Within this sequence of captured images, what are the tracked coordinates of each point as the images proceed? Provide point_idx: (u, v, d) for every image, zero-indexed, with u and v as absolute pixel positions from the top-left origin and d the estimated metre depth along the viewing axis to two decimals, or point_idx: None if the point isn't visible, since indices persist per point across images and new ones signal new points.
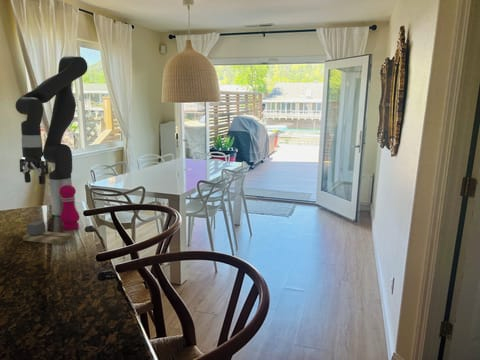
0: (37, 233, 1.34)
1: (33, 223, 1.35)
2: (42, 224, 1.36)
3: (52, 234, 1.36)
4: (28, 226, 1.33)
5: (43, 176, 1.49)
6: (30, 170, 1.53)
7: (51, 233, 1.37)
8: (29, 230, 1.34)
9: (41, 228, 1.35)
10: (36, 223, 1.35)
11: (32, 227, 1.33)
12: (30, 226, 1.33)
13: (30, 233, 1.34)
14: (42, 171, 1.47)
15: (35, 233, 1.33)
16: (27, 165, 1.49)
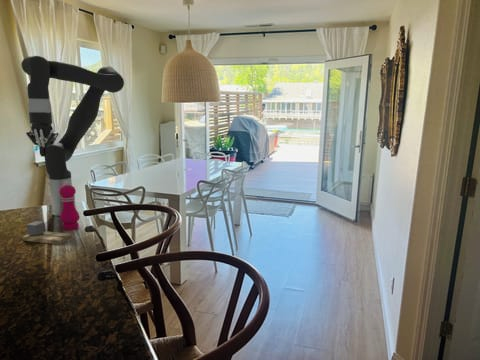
0: (37, 233, 1.34)
1: (33, 223, 1.35)
2: (42, 224, 1.36)
3: (52, 234, 1.36)
4: (28, 226, 1.33)
5: None
6: (42, 141, 1.35)
7: (51, 233, 1.37)
8: (29, 230, 1.34)
9: (41, 228, 1.35)
10: (36, 223, 1.35)
11: (32, 227, 1.33)
12: (30, 226, 1.33)
13: (30, 233, 1.34)
14: None
15: (35, 233, 1.33)
16: None
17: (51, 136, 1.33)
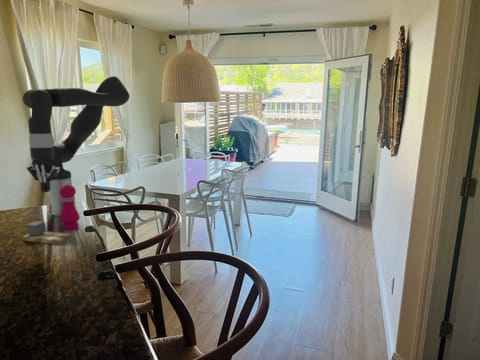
0: (37, 233, 1.34)
1: (33, 223, 1.35)
2: (42, 224, 1.36)
3: (52, 234, 1.36)
4: (28, 226, 1.33)
5: None
6: None
7: (51, 233, 1.37)
8: (29, 230, 1.34)
9: (41, 228, 1.35)
10: (36, 223, 1.35)
11: (32, 227, 1.33)
12: (30, 226, 1.33)
13: (30, 233, 1.34)
14: None
15: (35, 233, 1.33)
16: None
17: (53, 172, 1.28)
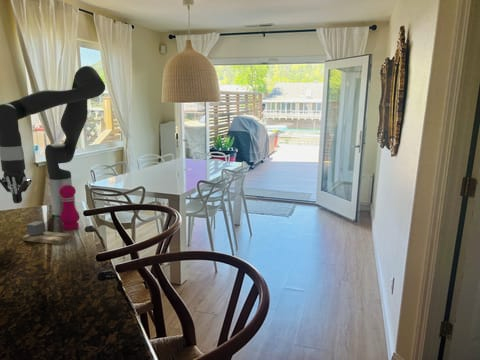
0: (37, 233, 1.34)
1: (33, 223, 1.35)
2: (42, 224, 1.36)
3: (52, 234, 1.36)
4: (28, 226, 1.33)
5: None
6: None
7: (51, 233, 1.37)
8: (29, 230, 1.34)
9: (41, 228, 1.35)
10: (36, 223, 1.35)
11: (32, 227, 1.33)
12: (30, 226, 1.33)
13: (30, 233, 1.34)
14: None
15: (35, 233, 1.33)
16: None
17: (24, 183, 1.31)
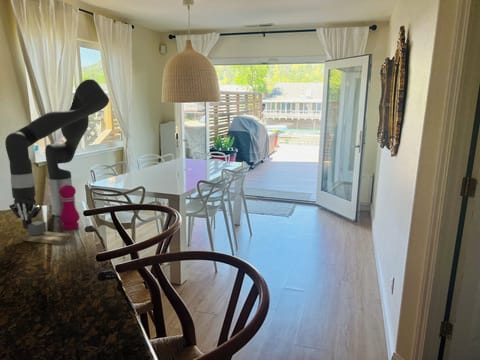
0: (38, 233, 1.34)
1: (34, 223, 1.34)
2: (43, 224, 1.36)
3: (52, 234, 1.36)
4: (29, 226, 1.33)
5: None
6: (25, 214, 1.34)
7: (51, 233, 1.37)
8: (30, 230, 1.33)
9: (42, 228, 1.35)
10: (37, 223, 1.35)
11: (33, 227, 1.33)
12: (31, 226, 1.33)
13: (31, 233, 1.34)
14: None
15: (36, 233, 1.33)
16: None
17: (34, 210, 1.32)
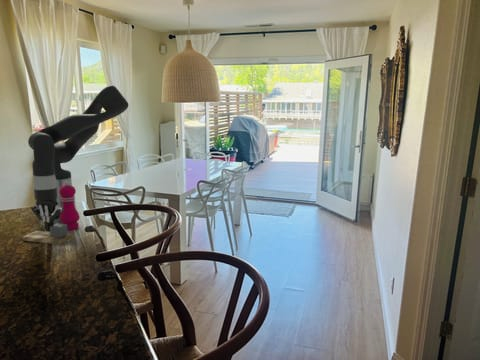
0: (60, 235, 1.32)
1: (56, 225, 1.33)
2: (65, 226, 1.34)
3: None
4: (51, 228, 1.31)
5: None
6: (47, 216, 1.32)
7: None
8: (52, 232, 1.31)
9: (64, 230, 1.33)
10: (59, 225, 1.33)
11: (55, 230, 1.31)
12: (53, 228, 1.31)
13: (53, 235, 1.32)
14: None
15: (58, 235, 1.31)
16: None
17: (56, 212, 1.30)
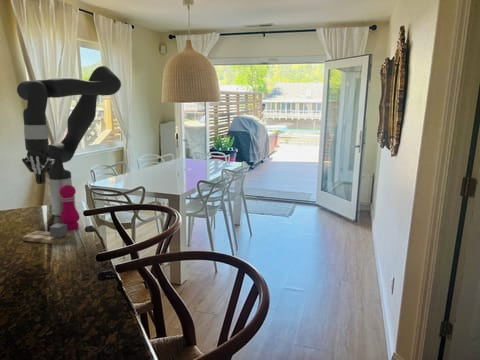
0: (60, 235, 1.32)
1: (56, 225, 1.33)
2: (65, 226, 1.34)
3: None
4: (51, 228, 1.31)
5: None
6: (38, 168, 1.29)
7: None
8: (52, 232, 1.31)
9: (64, 230, 1.33)
10: (59, 225, 1.33)
11: (55, 230, 1.31)
12: (53, 228, 1.31)
13: (53, 235, 1.32)
14: None
15: (58, 235, 1.31)
16: None
17: (48, 163, 1.28)
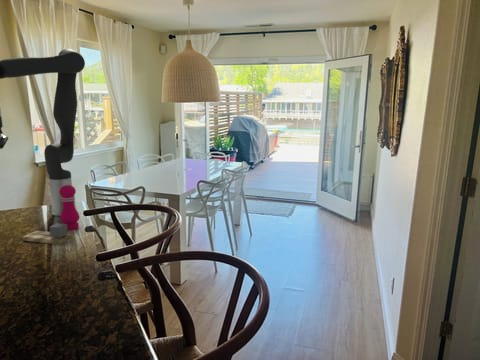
0: (60, 235, 1.32)
1: (56, 225, 1.33)
2: (65, 226, 1.34)
3: None
4: (51, 228, 1.31)
5: None
6: None
7: None
8: (52, 232, 1.31)
9: (64, 230, 1.33)
10: (59, 225, 1.33)
11: (55, 230, 1.31)
12: (53, 228, 1.31)
13: (53, 235, 1.32)
14: None
15: (58, 235, 1.31)
16: None
17: (0, 140, 1.35)
